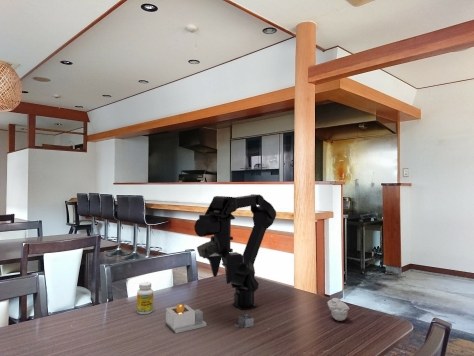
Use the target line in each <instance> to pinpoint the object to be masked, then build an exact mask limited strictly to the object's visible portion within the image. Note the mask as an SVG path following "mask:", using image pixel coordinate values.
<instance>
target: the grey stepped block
mask: <svg viewBox="0 0 474 356" xmlns="http://www.w3.org/2000/svg"><path fill="white" fill-rule="evenodd" d="M254 319H255V317H253V316H251V315H250V314H248V313H243V314H239V315H238V322H237V323H234V324H233V325H234V328H243V327H244V328H249V327H254V321H255V320H254Z"/></svg>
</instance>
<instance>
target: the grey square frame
mask: <svg viewBox="0 0 474 356" xmlns="http://www.w3.org/2000/svg"><path fill="white" fill-rule="evenodd" d="M194 310H195V309H192V308H191V307H190V306H189V305H187V304H184V312H181V313H176V312H177V305H175V306H173V307H172V306H171V307H167V308H165V323H166V322H167V323H168V324H169V325H170V326H171V327H172V328H173V329H178V328H182V327H186V326H191V325H195V311H194Z"/></svg>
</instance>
